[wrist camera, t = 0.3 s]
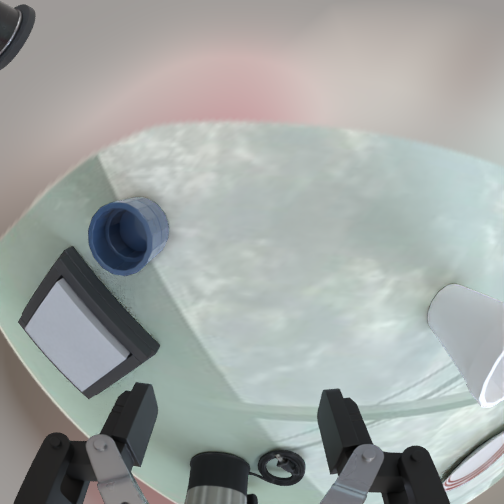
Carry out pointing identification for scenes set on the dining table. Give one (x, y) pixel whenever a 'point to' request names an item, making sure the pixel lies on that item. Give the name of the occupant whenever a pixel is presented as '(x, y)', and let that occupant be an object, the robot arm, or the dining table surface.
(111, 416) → the robot arm
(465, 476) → the dinner plate
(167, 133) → the dining table surface
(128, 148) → the dining table surface
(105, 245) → the blue cup
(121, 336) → the scale
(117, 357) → the pan
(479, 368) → the foam cup
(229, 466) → the milk frother
